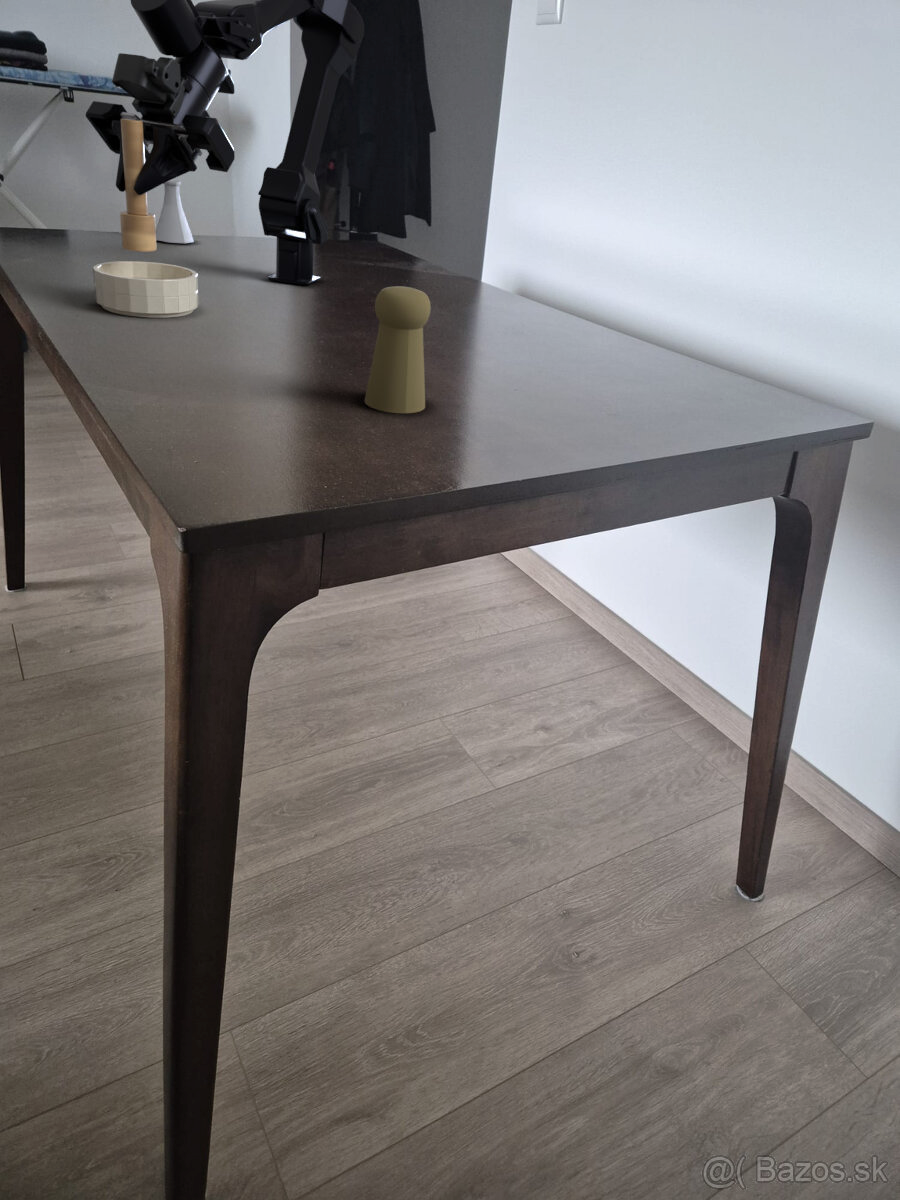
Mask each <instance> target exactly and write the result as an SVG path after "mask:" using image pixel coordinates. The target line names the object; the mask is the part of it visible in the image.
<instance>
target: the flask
mask: <svg viewBox="0 0 900 1200" xmlns="http://www.w3.org/2000/svg"><path fill="white" fill-rule="evenodd" d="M181 184H182V182H181V180H175V179H171V180H169V181H167V182H165V183H163V184H162V185H164V187H163V188H164V189H163V190H164V195H163V202H162V207H161V211H160V215H159V218H158V221H157V225H156V227H155V228H156V241H159V242H164V243H169V244H190V243H191V244H192V243H195V240H194V238H193V235H192V231H191V228H190V225H189V224H188V223H189V222H188V220H187V218H186V214H185V210H184V209H183V206H182V205H183V204H182V200H181V194H180V187H181Z"/></svg>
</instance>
